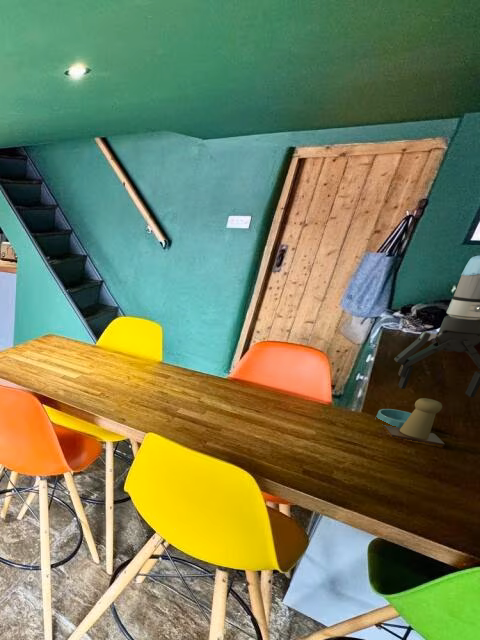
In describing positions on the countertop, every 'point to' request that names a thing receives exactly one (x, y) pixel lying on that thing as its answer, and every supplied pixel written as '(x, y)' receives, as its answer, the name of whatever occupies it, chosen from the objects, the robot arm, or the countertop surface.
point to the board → (396, 433)
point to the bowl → (393, 417)
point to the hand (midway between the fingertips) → (434, 391)
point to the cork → (421, 418)
